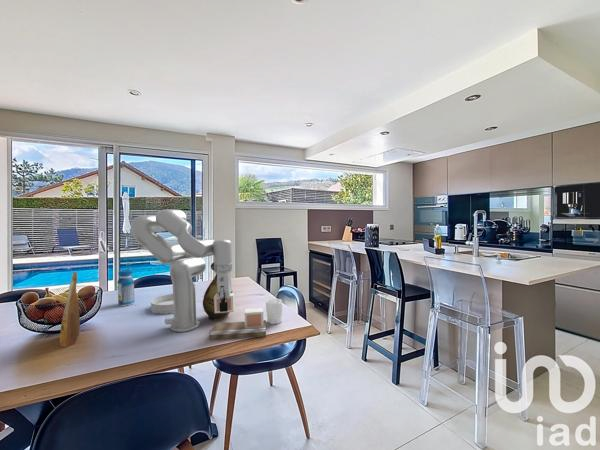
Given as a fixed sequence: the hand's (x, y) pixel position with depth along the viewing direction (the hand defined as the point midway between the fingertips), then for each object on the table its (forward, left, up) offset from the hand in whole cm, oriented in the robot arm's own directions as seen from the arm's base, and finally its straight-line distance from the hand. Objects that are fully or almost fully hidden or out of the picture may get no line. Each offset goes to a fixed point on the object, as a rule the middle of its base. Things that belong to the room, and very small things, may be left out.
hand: (224, 308), depth 127 cm
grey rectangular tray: (+6, 0, -11) cm, 12 cm away
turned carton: (0, 0, -1) cm, 1 cm away
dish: (-34, +40, -11) cm, 54 cm away
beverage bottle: (-63, +50, -11) cm, 81 cm away
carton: (+13, 0, -9) cm, 15 cm away
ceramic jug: (-5, +20, -11) cm, 23 cm away
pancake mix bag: (-63, +2, -11) cm, 64 cm away
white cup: (+22, +9, -11) cm, 26 cm away
